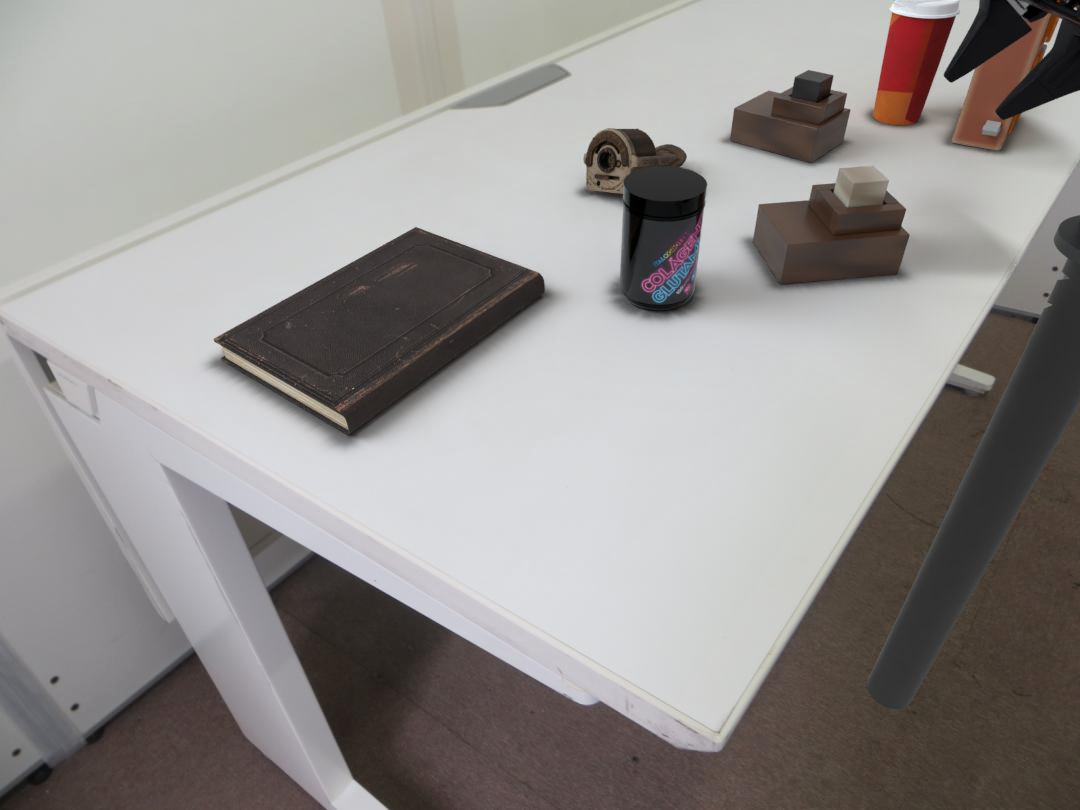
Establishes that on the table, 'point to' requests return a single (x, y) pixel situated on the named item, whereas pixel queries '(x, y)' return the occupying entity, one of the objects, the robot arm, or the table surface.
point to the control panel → (1000, 87)
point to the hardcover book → (378, 325)
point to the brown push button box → (830, 237)
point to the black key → (812, 86)
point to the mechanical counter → (624, 157)
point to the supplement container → (661, 236)
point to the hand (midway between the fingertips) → (971, 96)
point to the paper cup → (912, 57)
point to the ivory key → (860, 186)
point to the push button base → (791, 124)
